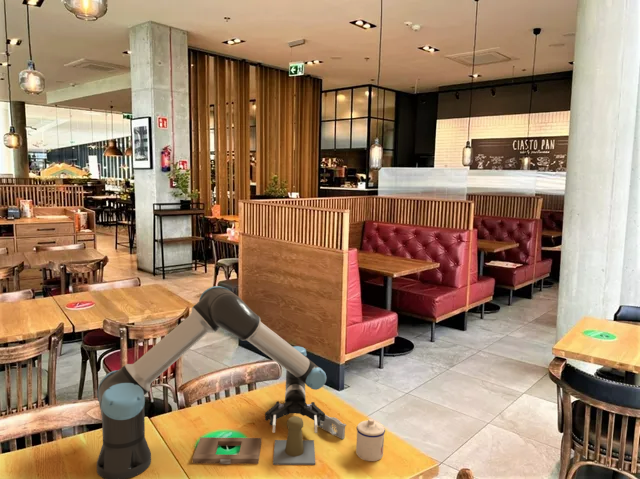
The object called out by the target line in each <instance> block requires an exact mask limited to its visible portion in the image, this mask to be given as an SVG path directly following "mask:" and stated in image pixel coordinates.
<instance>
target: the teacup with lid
mask: <svg viewBox="0 0 640 479" xmlns="http://www.w3.org/2000/svg"><path fill="white" fill-rule="evenodd" d="M385 433H386V429H385V427H384V425H383V424H382V423H380V422H378V421H376V420H375V419H373V418H369V419H367V420H363V421H360V422H359V423H358V424H357V426H356V447H355V448H356V449H355V451H356V452H355V453H356V455H357V457H358V458H360V459H361V460H364V461H365V462H376V461H379V460H381V459H382V458H383V456H384V444H385Z"/></svg>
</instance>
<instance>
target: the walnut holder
mask: <svg viewBox="0 0 640 479" xmlns="http://www.w3.org/2000/svg"><path fill="white" fill-rule="evenodd" d="M222 446H223V447H240V449H239V453H238V454H224V453H223V454H218V453H217V451H218V448H219V447H222ZM261 448H262V437H216V436H215V437H207V436H206V437H199V440H198V442H197V445H196V448H195V451H194V454H193V456H192V464H219V465H231V464H237V465H238V464H244V465H245V464H249V465H251V464H255V465H258V464H259V462H260V455H261Z"/></svg>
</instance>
